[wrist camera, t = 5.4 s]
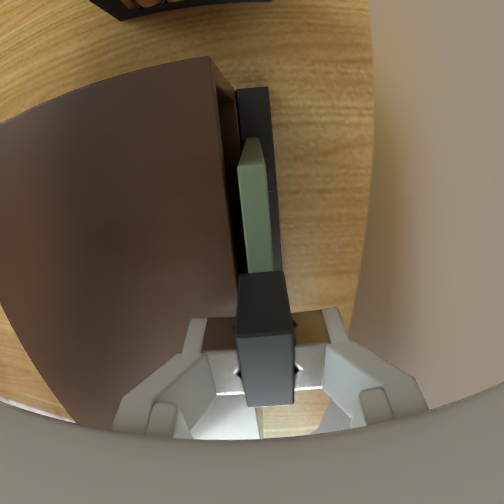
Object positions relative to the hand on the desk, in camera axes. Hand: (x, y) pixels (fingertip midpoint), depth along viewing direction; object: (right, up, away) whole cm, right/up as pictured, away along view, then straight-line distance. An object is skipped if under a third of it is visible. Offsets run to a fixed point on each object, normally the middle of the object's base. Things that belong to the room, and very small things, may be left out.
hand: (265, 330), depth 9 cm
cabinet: (-5, +4, +13) cm, 14 cm away
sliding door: (0, +5, +11) cm, 12 cm away
